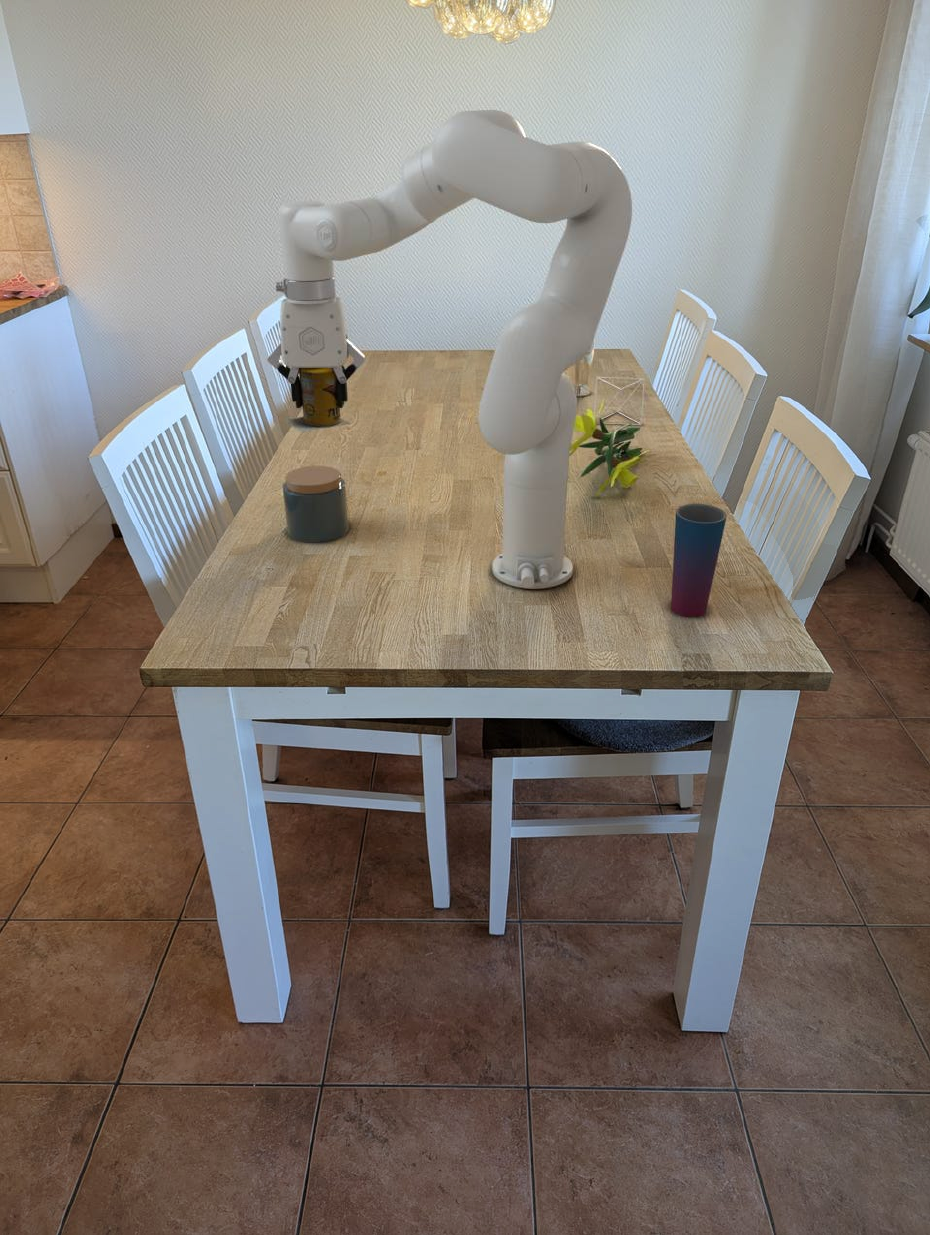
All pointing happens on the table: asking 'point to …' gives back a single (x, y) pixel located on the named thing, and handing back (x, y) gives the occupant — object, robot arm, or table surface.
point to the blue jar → (315, 504)
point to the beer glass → (581, 373)
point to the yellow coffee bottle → (318, 400)
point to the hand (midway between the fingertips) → (320, 404)
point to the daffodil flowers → (611, 454)
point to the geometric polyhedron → (616, 395)
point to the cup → (695, 556)
